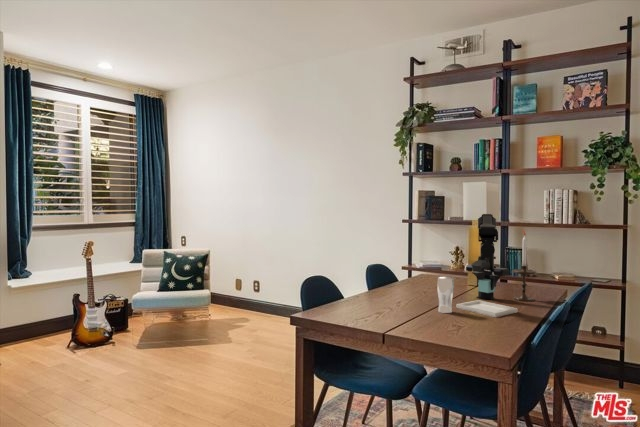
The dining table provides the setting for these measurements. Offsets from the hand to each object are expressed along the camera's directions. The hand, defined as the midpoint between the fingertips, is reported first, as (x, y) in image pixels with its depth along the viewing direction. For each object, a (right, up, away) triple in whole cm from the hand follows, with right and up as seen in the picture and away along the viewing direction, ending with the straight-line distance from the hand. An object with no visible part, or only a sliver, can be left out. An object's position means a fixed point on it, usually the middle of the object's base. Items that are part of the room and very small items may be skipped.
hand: (486, 289), depth 200 cm
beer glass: (-19, -10, -3) cm, 22 cm away
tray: (0, -9, 0) cm, 9 cm away
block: (0, -1, 0) cm, 1 cm away
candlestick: (+27, -9, +24) cm, 37 cm away
